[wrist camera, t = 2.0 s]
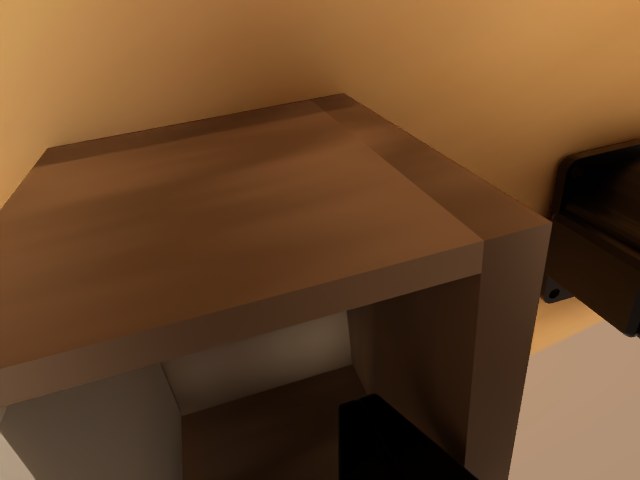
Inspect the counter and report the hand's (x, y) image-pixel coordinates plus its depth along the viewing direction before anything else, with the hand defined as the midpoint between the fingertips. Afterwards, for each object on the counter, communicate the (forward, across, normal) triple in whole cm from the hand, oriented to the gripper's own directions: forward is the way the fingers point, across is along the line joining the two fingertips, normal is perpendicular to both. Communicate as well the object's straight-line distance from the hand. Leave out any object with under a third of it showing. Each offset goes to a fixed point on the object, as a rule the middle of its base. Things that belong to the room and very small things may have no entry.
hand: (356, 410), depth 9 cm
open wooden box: (+7, +2, 0) cm, 7 cm away
